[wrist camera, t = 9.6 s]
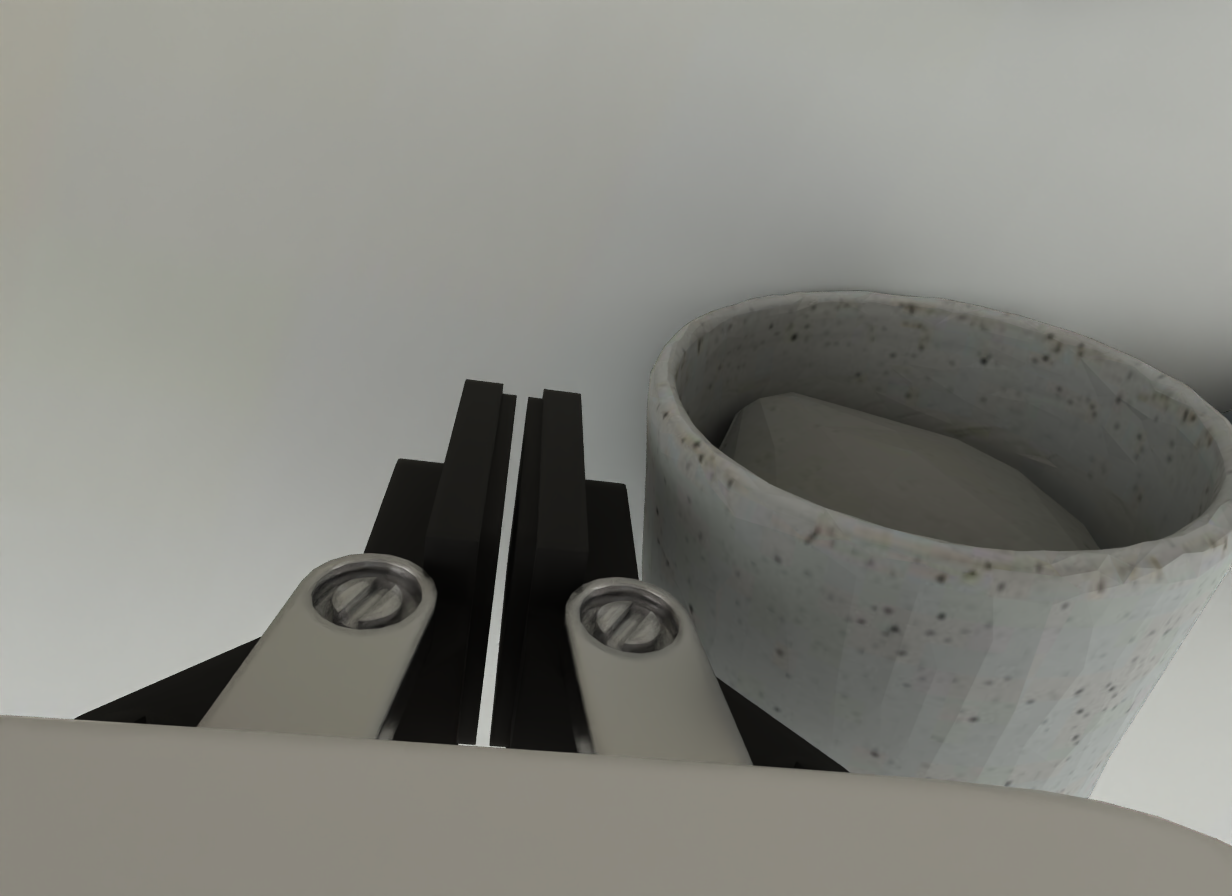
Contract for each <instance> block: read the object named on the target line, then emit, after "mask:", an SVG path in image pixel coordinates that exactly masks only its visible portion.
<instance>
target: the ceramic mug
mask: <svg viewBox="0 0 1232 896" xmlns="http://www.w3.org/2000/svg"><path fill="white" fill-rule="evenodd" d="M1231 565H1232V425H1231V423H1230V422H1229V421H1228V420H1227V419H1226V418H1225V417H1224V416H1223V415H1222V414H1221V413H1220V412H1218V411H1217V410H1216V409H1215V408H1213V407H1212V406H1211V405H1210V404H1208V403H1207V402H1206V401H1205V400H1204V399H1202V398H1201V397H1200V396H1199V395H1198V394H1197V393H1196V392H1195V391H1194V390H1192V389H1191V388H1190V387H1189V386H1188V385H1186V384H1184V383H1182V382H1180V381H1178V380H1176V379H1174V378H1173V377H1171V376H1169V375H1167V374H1165V373H1163V372H1161V371H1159V370H1157V369H1155V368H1153V367H1151V366H1150V365H1148V364H1146V363H1144V362H1142V361H1140V360H1138V359H1136V358H1134V357H1133V356H1131V355H1128V354H1126V353H1123V352H1121V351H1118V350H1116V349H1114V348H1111V347H1109V346H1107V345H1105V344H1102V343H1100V342H1098V341H1096V340H1094V339H1092V338H1089V337H1086V336H1083V335H1081V334H1078V333H1075V332H1072V331H1069V330H1065V329H1062V328H1058V327H1055V326H1052V325H1048V324H1045V323H1042V322H1039V321H1036V320H1033V319H1030V318H1026V317H1023V316H1020V315H1016V314H1011V313H1005V312H1000V311H997V310H993V309H990V308H986V307H982V306H977V305H972V304H967V303H962V302H958V301H953V300H948V299H942V298H930V297H913V296H902V295H889V294H883V293H877V292H867V291H828V292H795V293H791V294H787V295H783V296H781V295H770V296H764V297H758V298H753V299H749V300H747V301H744V302H741V303H738V304H735V305H731V306H728V307H724V308H721V309H717V310H714V311H711V312H709V313H707V314H705V315H702V316H700V317H698V318H696V319H695V320H693V321H691V322H689V323H688V324H687V325H685V326H684V327H683V328H682V329H680V330H679V331H678V332H677V333H676V334H675V335H674V337H673V338H672V339H671V340H670V341H669V342H668V343H667V344H666V345H665V346H664V348H663V350H662V352H661V354H660V355H659V357H658V359H657V361H656V363H655V365H654V367H653V369H652V370H651V374H650V383H649V391H648V403H647V448H646V478H645V504H644V527H643V549H642V581H643V582H647V583H650V584H653V585H655V586H657V587H659V588H661V589H663V590H665V591H666V592H668V593H670V594H671V595H672V596H673V597H674V598H676V599H677V600H678V601H679V602H680V603H681V604H682V605H683V606H684V608H685V609H686V611H687V612H688V614H689V615H690V617H691V619H692V622H693V624H694V626H695V629H696V631H697V634H698V636H699V638H700V641H701V643H702V645H703V648H704V650H705V652H706V655H707V657H708V659H709V662H710V664H711V667H712V669H713V671H714V674H715V676H716V677H717V678H719V679H720V680H721V681H723V682H724V683H726V684H727V685H728V686H730V687H731V688H733V689H734V690H736V691H737V692H738V693H740V694H741V695H743V696H744V697H745V698H747V699H748V700H750V701H751V702H752V703H754V704H755V705H757V706H758V707H759V708H761V709H762V710H764V711H765V712H767V713H768V714H769V715H771V716H772V717H774V718H775V719H776V720H778V721H779V722H781V723H782V724H783V725H785V726H786V727H788V728H789V729H790V730H792V731H793V732H795V733H796V734H798V735H799V736H800V737H802V738H803V739H805V740H806V741H807V742H809V743H810V744H812V745H813V746H814V747H816V748H817V749H819V750H820V751H821V752H823V753H824V754H826V755H827V756H829V757H830V758H831V759H833V760H834V761H836V762H837V763H838V764H840V765H841V766H843V767H844V768H845V769H846V770H848V771H849V772H850V773H860V774H873V775H887V776H900V777H913V778H927V779H940V780H949V781H959V782H968V783H977V784H987V785H996V786H1005V787H1015V788H1024V789H1033V790H1043V791H1049V792H1054V793H1060V794H1065V795H1071V796H1076V797H1082V798H1087V799H1088V798H1089V796H1090V795H1091V793H1092V791H1093V789H1094V787H1095V785H1096V783H1097V781H1098V779H1099V777H1100V775H1101V773H1102V771H1103V769H1104V767H1105V766H1106V764H1107V762H1108V760H1109V758H1110V756H1111V754H1112V753H1113V751H1114V750H1115V748H1116V746H1117V745H1118V743H1119V742H1120V740H1121V738H1122V737H1123V735H1124V734H1125V732H1126V731H1127V729H1128V727H1129V726H1130V724H1131V723H1132V721H1133V720H1134V718H1135V716H1136V715H1137V713H1138V712H1139V710H1140V708H1141V707H1142V705H1143V704H1144V702H1145V701H1146V699H1147V697H1148V696H1149V694H1150V693H1151V691H1152V690H1153V688H1154V686H1155V685H1156V683H1157V682H1158V680H1159V678H1160V677H1161V675H1162V674H1163V672H1164V671H1165V669H1166V667H1167V666H1168V664H1169V663H1170V661H1171V660H1172V658H1173V656H1174V655H1175V653H1176V652H1177V650H1178V649H1179V647H1180V645H1181V644H1182V642H1183V641H1184V639H1185V638H1186V636H1187V634H1188V633H1189V631H1190V630H1191V628H1192V627H1193V625H1194V623H1195V622H1196V620H1197V619H1198V617H1199V616H1200V614H1201V612H1202V611H1203V609H1204V608H1205V606H1206V604H1207V603H1208V601H1209V600H1210V598H1211V597H1212V595H1213V593H1214V592H1215V590H1216V589H1217V587H1218V585H1219V584H1220V582H1221V581H1222V579H1223V578H1224V576H1225V574H1226V573H1227V571H1228V570H1229V568H1230V566H1231Z"/></svg>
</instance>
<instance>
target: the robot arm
mask: <svg viewBox="0 0 1232 896" xmlns="http://www.w3.org/2000/svg"><path fill="white" fill-rule="evenodd" d="M502 393H503V384H500V383H492V382H484V381H476V380H468V379H466V381H465V384H464V388H463V392H462V396H461V400H460V404H459V408H458V412H457V415H456V419H455V423H454V427H453V431H452V435H451V439H450V443H449V447H448V450H447V454H446V458H445V462H444V463H436V462H427V461H418V460H409V459H398V461H397V463H396V466H395V468H394V471H393V474H392V477H391V479H390V482H389V485H388V488H387V490H386V493H385V496H384V499H383V501H382V504H381V507H380V510H379V513H378V515H377V518H376V521H375V524H374V526H373V529H372V532H371V535H370V537H369V540H368V543H367V546H366V548H365V551H364V554H354V555H347V556H344V557H340V558H337V559H333V560H330V561H328V562H326V563H324V564H323V565H321V566H319V567H317V568H315V569H313V570H312V571H311V572H310V573H309V574H308V575H307V576H306V577H305V578H304V579H303V580H302V581H301V583H300V584H299V585H298V587H297V588H296V590H295V591H294V592H293V594H292V595H291V596H290V598H289V599H288V601H287V602H286V603H285V605H284V606H283V608H282V609H281V610H280V612H279V613H278V615H277V616H276V617H275V619H274V620H273V621H272V623H271V624H270V626H269V627H268V628H267V630H266V631H265V633H264V634H263V635H262V637H259V638H257V639H255V640H252V641H250V642H248V643H246V644H243V645H241V646H239V647H236V648H234V649H232V650H230V651H227V652H225V653H223V654H220V655H218V656H216V657H213V658H211V659H209V660H207V661H204V662H202V663H200V664H197V665H195V666H193V667H190V668H188V669H186V670H184V671H181V672H179V673H177V674H174V675H172V676H170V677H168V678H165V679H163V680H161V681H158V682H156V683H154V684H151V685H149V686H147V687H145V688H142V689H140V690H138V691H135V692H133V693H131V694H129V695H126V696H124V697H122V698H119V699H117V700H115V701H112V702H110V703H108V704H106V705H103V706H101V707H99V708H96V709H94V710H92V711H89V712H87V713H85V714H83V715H81V716H79V717H77V718H75V719H59V718H43V717H27V716H12V715H0V896H1232V846H1231V845H1229V844H1227V843H1225V842H1222V841H1220V840H1218V839H1216V838H1213V837H1211V836H1208V835H1205V834H1203V833H1200V832H1198V831H1195V830H1192V829H1190V828H1187V827H1184V826H1182V825H1179V824H1177V823H1174V822H1171V821H1169V820H1166V819H1164V818H1161V817H1158V816H1154V815H1151V814H1147V813H1143V812H1140V811H1136V810H1132V809H1129V808H1125V807H1121V806H1118V805H1114V804H1110V803H1106V802H1103V801H1098V800H1092V799H1087V798H1082V797H1076V796H1071V795H1065V794H1060V793H1054V792H1049V791H1043V790H1033V789H1024V788H1015V787H1005V786H996V785H987V784H977V783H968V782H959V781H949V780H940V779H927V778H913V777H900V776H887V775H873V774H860V773H850V772H849V771H848V770H846V769H845V768H844V767H843V766H841V765H840V764H838V763H837V762H836V761H834V760H833V759H831V758H830V757H829V756H827V755H826V754H824V753H823V752H821V751H820V750H819V749H817V748H816V747H814V746H813V745H812V744H810V743H809V742H807V741H806V740H805V739H803V738H802V737H800V736H799V735H798V734H796V733H795V732H793V731H792V730H790V729H789V728H788V727H786V726H785V725H783V724H782V723H781V722H779V721H778V720H776V719H775V718H774V717H772V716H771V715H769V714H768V713H767V712H765V711H764V710H762V709H761V708H759V707H758V706H757V705H755V704H754V703H752V702H751V701H750V700H748V699H747V698H745V697H744V696H743V695H741V694H740V693H738V692H737V691H736V690H734V689H733V688H731V687H730V686H728V685H727V684H726V683H724V682H723V681H721V680H720V679H719V678H717V677H716V676H715V674H714V671H713V669H712V667H711V664H710V662H709V659H708V657H707V655H706V652H705V650H704V648H703V645H702V643H701V641H700V638H699V636H698V634H697V631H696V629H695V626H694V624H693V622H692V619H691V617H690V615H689V614H688V612H687V611H686V609H685V608H684V606H683V605H682V604H681V603H680V602H679V601H678V600H677V599H676V598H674V597H673V596H672V595H671V594H670V593H668V592H666V591H665V590H663V589H661V588H659V587H657V586H655V585H653V584H650V583H647V582H643V581H640V580H639V578H638V570H637V563H636V555H635V548H634V540H633V533H632V526H631V518H630V511H629V503H628V496H627V489H626V485H625V484H621V483H612V482H603V481H594V480H585V466H584V446H583V425H582V405H581V394H578V393H571V392H563V391H555V390H547V389H544V392H543V398H542V399H541V398H533V397H528V404H527V412H526V420H525V427H524V435H523V443H522V451H521V459H520V467H519V474H518V482H517V490H516V498H515V506H514V514H513V521H512V529H511V537H510V545H509V553H508V562H507V571H506V581H505V591H504V601H503V612H502V622H501V632H500V642H499V652H498V663H497V673H496V683H495V693H494V704H493V714H492V724H491V734H490V746H499V747H506V748H493V747H478V746H463V745H458V744H471V745H475V744H476V736H477V728H478V720H479V711H480V703H481V695H482V686H483V678H484V670H485V662H486V653H487V645H488V637H489V628H490V620H491V612H492V603H493V595H494V587H495V579H496V570H497V562H498V554H499V545H500V537H501V528H502V519H503V511H504V502H505V493H506V485H507V476H508V467H509V459H510V450H511V441H512V433H513V424H514V415H515V407H516V398H517V395H509V394H502Z"/></svg>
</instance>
